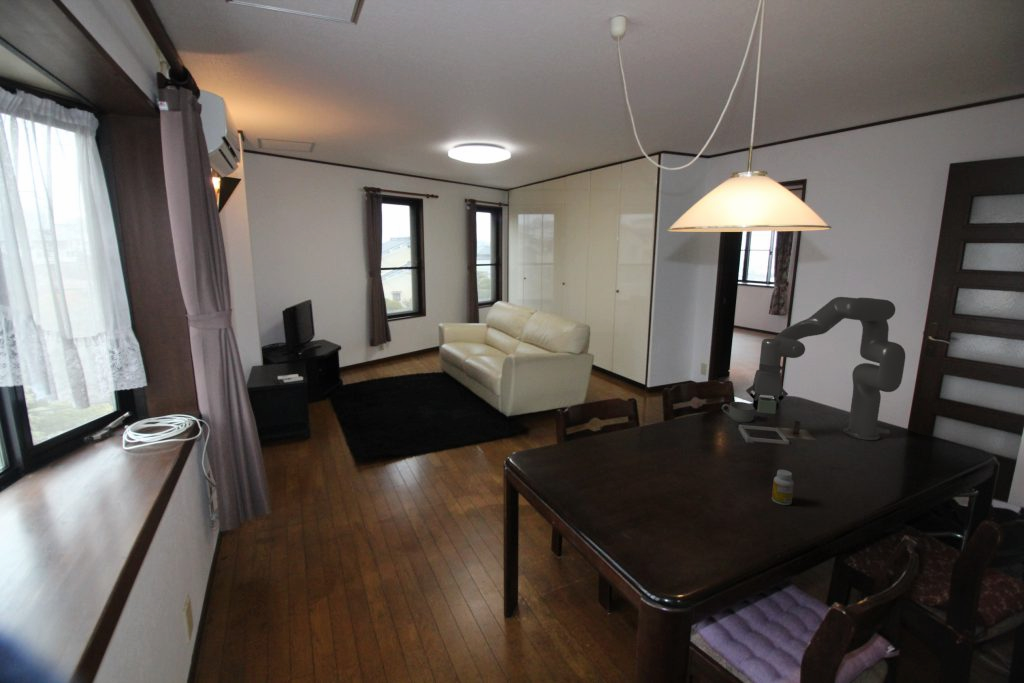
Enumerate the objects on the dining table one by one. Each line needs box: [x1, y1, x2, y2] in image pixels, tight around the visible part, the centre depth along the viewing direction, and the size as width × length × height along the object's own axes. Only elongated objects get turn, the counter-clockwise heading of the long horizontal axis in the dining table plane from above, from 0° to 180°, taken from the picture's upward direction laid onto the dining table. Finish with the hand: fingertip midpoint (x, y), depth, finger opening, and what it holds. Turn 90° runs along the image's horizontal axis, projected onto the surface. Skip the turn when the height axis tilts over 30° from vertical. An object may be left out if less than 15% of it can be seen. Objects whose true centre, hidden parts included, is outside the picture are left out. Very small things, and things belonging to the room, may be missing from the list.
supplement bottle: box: [771, 469, 795, 506], centre depth 141 cm, size 5×5×10 cm
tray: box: [738, 424, 790, 445], centre depth 193 cm, size 16×16×2 cm
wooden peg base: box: [776, 420, 817, 441], centre depth 195 cm, size 12×12×6 cm
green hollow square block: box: [756, 396, 777, 415], centre depth 191 cm, size 6×6×5 cm
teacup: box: [721, 401, 756, 424], centre depth 213 cm, size 14×11×8 cm
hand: (764, 409), depth 191 cm, fingers closed on green hollow square block, 6 cm apart
